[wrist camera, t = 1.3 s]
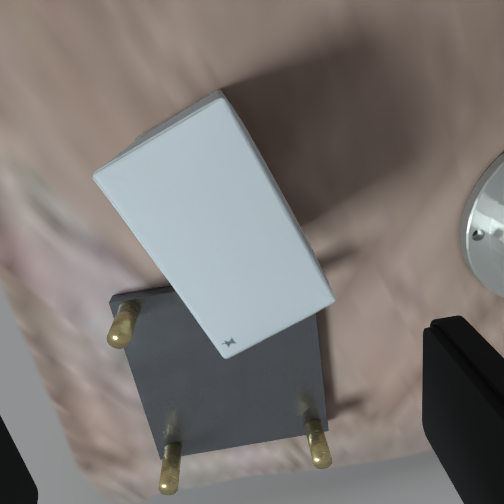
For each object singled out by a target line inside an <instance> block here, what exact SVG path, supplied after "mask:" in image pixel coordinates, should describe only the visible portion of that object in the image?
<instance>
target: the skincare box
mask: <svg viewBox="0 0 504 504" xmlns="http://www.w3.org/2000/svg"><path fill="white" fill-rule="evenodd" d="M93 180H94V181H95V182H96V184H97V185H98V186H99V187H100V189H101V190H102V191H103V192H104V194H105V195H106V196H107V198H108V199H109V200H110V202H111V203H112V204H113V206H114V207H115V208H116V210H117V211H118V212H119V214H120V215H121V217H122V218H123V219H124V221H125V222H126V223H127V225H128V226H129V228H130V229H131V230H132V232H133V233H134V234H135V236H136V237H137V239H138V240H139V241H140V243H141V244H142V245H143V247H144V248H145V250H146V251H147V252H148V254H149V255H150V256H151V258H152V259H153V260H154V262H155V263H156V265H157V266H158V267H159V269H160V270H161V271H162V273H163V274H164V275H165V277H166V278H167V280H168V281H169V282H170V284H171V285H172V286H173V288H174V289H175V291H176V292H177V293H178V295H179V296H180V298H181V299H182V300H183V302H184V303H185V305H186V306H187V307H188V309H189V310H190V312H191V313H192V314H193V316H194V317H195V319H196V320H197V322H198V323H199V324H200V326H201V327H202V329H203V330H204V331H205V333H206V334H207V336H208V337H209V338H210V340H211V341H212V343H213V344H214V345H215V347H216V348H217V350H218V351H219V353H220V354H221V355H222V357H223V358H225V359H228V358H230V357H232V356H234V355H236V354H238V353H240V352H242V351H244V350H245V349H247V348H249V347H251V346H253V345H255V344H257V343H259V342H261V341H263V340H264V339H266V338H268V337H270V336H272V335H274V334H276V333H278V332H280V331H282V330H284V329H286V328H288V327H289V326H291V325H293V324H295V323H297V322H299V321H301V320H303V319H305V318H307V317H309V316H311V315H313V314H314V313H316V312H318V311H320V310H322V309H323V308H325V307H327V306H329V305H331V304H332V303H334V302H335V300H336V299H335V297H334V294H333V292H332V290H331V287H330V285H329V283H328V281H327V278H326V276H325V274H324V272H323V270H322V268H321V266H320V263H319V261H318V259H317V257H316V255H315V254H314V252H313V250H312V248H311V246H310V244H309V242H308V240H307V238H306V236H305V234H304V232H303V231H302V229H301V227H300V225H299V223H298V221H297V219H296V217H295V216H294V214H293V212H292V210H291V208H290V206H289V205H288V203H287V201H286V199H285V197H284V195H283V194H282V192H281V190H280V188H279V186H278V184H277V183H276V181H275V179H274V177H273V175H272V173H271V172H270V170H269V168H268V166H267V164H266V163H265V161H264V159H263V157H262V155H261V154H260V152H259V150H258V148H257V147H256V145H255V143H254V141H253V140H252V138H251V136H250V134H249V133H248V131H247V129H246V127H245V126H244V124H243V122H242V121H241V119H240V118H239V116H238V114H237V113H236V111H235V110H234V108H233V107H232V105H231V104H230V102H229V101H228V99H227V98H226V97H225V95H224V94H223V92H222V91H221V90H216V91H215V92H213V93H211V94H209V95H208V96H206V97H204V98H203V99H201V100H199V101H198V102H196V103H195V104H193V105H191V106H190V107H188V108H186V109H185V110H183V111H181V112H180V113H178V114H176V115H175V116H173V117H171V118H170V119H168V120H166V121H165V122H163V123H161V124H160V125H158V126H156V127H155V128H153V129H151V130H149V131H147V132H146V133H144V134H142V135H140V136H139V137H137V138H136V139H135V141H134V142H133V143H132V144H130V145H129V146H128V147H127V148H126V149H124V150H123V151H122V152H121V153H119V154H118V155H117V156H116V157H115V158H113V159H112V160H111V161H109V162H108V163H107V164H106V165H104V166H103V167H101V168H99V169H98V170H96V171H95V172H94V175H93Z"/></svg>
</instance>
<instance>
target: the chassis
mask: <svg viewBox="0 0 504 504" xmlns="http://www.w3.org/2000/svg"><path fill="white" fill-rule="evenodd" d="M109 305H110V308H111V311H112V314H113V317H114V321H113V323H112V326H111V328H110V331H109V333H108V335H107V342H108V344H109V345H110V346H112V347H113V348H117V349H122V348H124V350H125V353H126V356H127V359H128V362H129V365H130V368H131V371H132V374H133V377H134V380H135V383H136V386H137V389H138V392H139V395H140V398H141V401H142V404H143V407H144V410H145V413H146V416H147V420H148V423H149V426H150V429H151V432H152V435H153V438H154V441H155V444H156V447H157V450H158V453H159V456H160V459H163V462H162V469H161V476H160V483H159V491H160V493H162V494H164V495H172V494H175V493H176V492H177V490H178V482H179V472H180V462H181V456H184V455H190V454H196V453H202V452H208V451H214V450H220V449H226V448H231V447H237V446H243V445H249V444H255V443H261V442H267V441H272V440H278V439H284V438H290V437H296V436H302V435H307V439H308V443H309V447H310V451H311V456H312V460H313V464H314V466H315V467H316V468H318V469H325V468H328V467H329V466H330V465H331V464H332V458H331V455H330V451H329V448H328V444H327V441H326V437H325V434H324V432H325V431H329V430H328V421H327V412H326V403H325V393H324V384H323V375H322V366H321V356H320V347H319V338H318V329H317V320H316V313H314V314H313V315H311V316H309V317H307V318H305V319H303V320H301V321H299V322H297V323H295V324H293V325H291V326H289V327H288V328H286V329H284V330H282V331H280V332H278V333H276V334H274V335H272V336H270V337H268V338H266V339H264V340H263V341H261V342H259V343H257V344H255V345H253V346H251V347H249V348H247V349H245V350H244V351H242V352H240V353H238V354H236V355H234V356H232V357H230V358H228V359H225V358H223V357H222V355H221V354H220V353H219V351H218V350H217V348H216V347H215V345H214V344H213V343H212V341H211V340H210V338H209V337H208V336H207V334H206V333H205V331H204V330H203V329H202V327H201V326H200V324H199V323H198V322H197V320H196V319H195V317H194V316H193V314H192V313H191V312H190V310H189V309H188V307H187V306H186V305H185V303H184V302H183V300H182V299H181V298H180V296H179V295H178V293H177V292H176V291H175V289H174V288H173V286H168V287H162V288H156V289H150V290H144V291H138V292H132V293H126V294H120V295H115V296H112V298H111V300H110V302H109Z"/></svg>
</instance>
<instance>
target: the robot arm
mask: <svg viewBox="0 0 504 504" xmlns="http://www.w3.org/2000/svg"><path fill="white" fill-rule="evenodd" d="M460 242H461V251H462V254H463V257H464V260H465V263H466V265H467V267H468V268H469V270H470V271H471V273H472V274H473V276H474V277H475V278H476V279H477V280H478V281H479V282H481V283H482V284H483V285H484V286H485V287H486V288H488V289H489V290H491V291H492V292H493V293H495V294H497V295H499V296H501V297H503V298H504V153H503V154H502V155H500V156H499V157H498V158H497V159H496V160H495V161H494V162H493V163H492V164H491V166H490V167H489V168H488V169H487V170H486V171H485V172H484V174H483V175H482V177H481V178H480V179H479V181H478V182H477V184H476V185H475V187H474V189H473V191H472V193H471V195H470V197H469V199H468V201H467V203H466V206H465V210H464V213H463V216H462V220H461V230H460ZM422 424H423V428H424V432H425V435H426V437H427V439H428V441H429V443H430V444H431V446H432V448H433V450H434V451H435V453H436V455H437V457H438V458H439V460H440V462H441V464H442V466H443V467H444V469H445V471H446V472H447V474H448V476H449V478H450V479H451V481H452V483H453V485H454V487H455V489H456V490H457V492H458V494H459V496H460V497H461V499H462V501H463V503H464V504H504V358H503V357H502V356H501V355H500V354H499V353H498V352H497V351H496V350H495V349H494V348H493V347H492V346H491V345H490V344H489V343H488V342H487V341H486V340H485V339H484V338H483V337H482V336H481V335H480V334H479V333H478V332H477V331H476V330H475V329H474V328H473V327H472V326H471V325H470V324H469V323H468V322H467V321H466V320H465V319H464V318H463V317H462V316H452V317H446V318H440V319H435V320H432V322H431V324H430V327H428V328H425V329H424V331H423V392H422ZM37 500H38V490H37V487H36V485H35V483H34V481H33V479H32V477H31V475H30V473H29V471H28V469H27V467H26V465H25V463H24V461H23V459H22V457H21V455H20V453H19V451H18V449H17V447H16V445H15V443H14V442H13V440H12V438H11V435H10V434H9V432H8V430H7V428H6V426H5V424H4V422H3V420H2V418H1V416H0V504H37Z"/></svg>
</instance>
